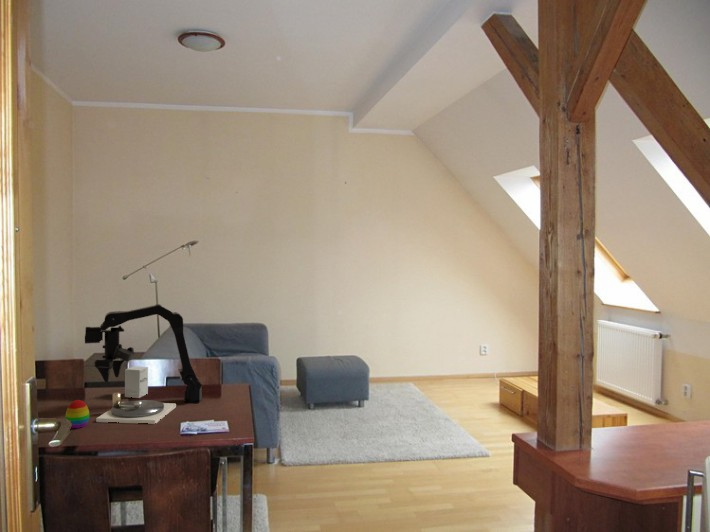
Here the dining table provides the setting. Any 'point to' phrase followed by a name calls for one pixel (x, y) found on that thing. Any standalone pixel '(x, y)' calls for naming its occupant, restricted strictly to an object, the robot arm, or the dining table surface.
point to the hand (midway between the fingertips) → (111, 379)
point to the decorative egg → (77, 414)
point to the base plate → (145, 419)
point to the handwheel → (135, 407)
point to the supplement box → (136, 382)
